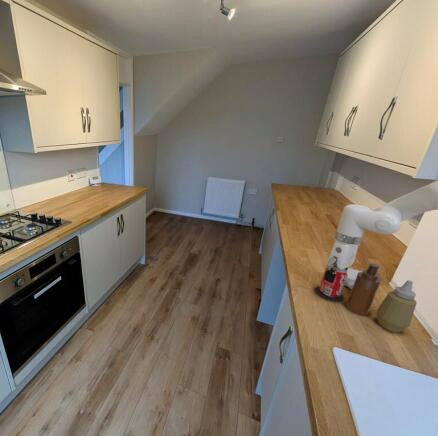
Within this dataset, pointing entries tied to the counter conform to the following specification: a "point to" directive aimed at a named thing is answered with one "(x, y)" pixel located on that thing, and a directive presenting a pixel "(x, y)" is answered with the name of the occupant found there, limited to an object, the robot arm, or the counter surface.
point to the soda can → (334, 283)
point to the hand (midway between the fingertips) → (334, 277)
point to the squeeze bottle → (397, 308)
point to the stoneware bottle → (364, 290)
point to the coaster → (328, 296)
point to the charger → (351, 277)
